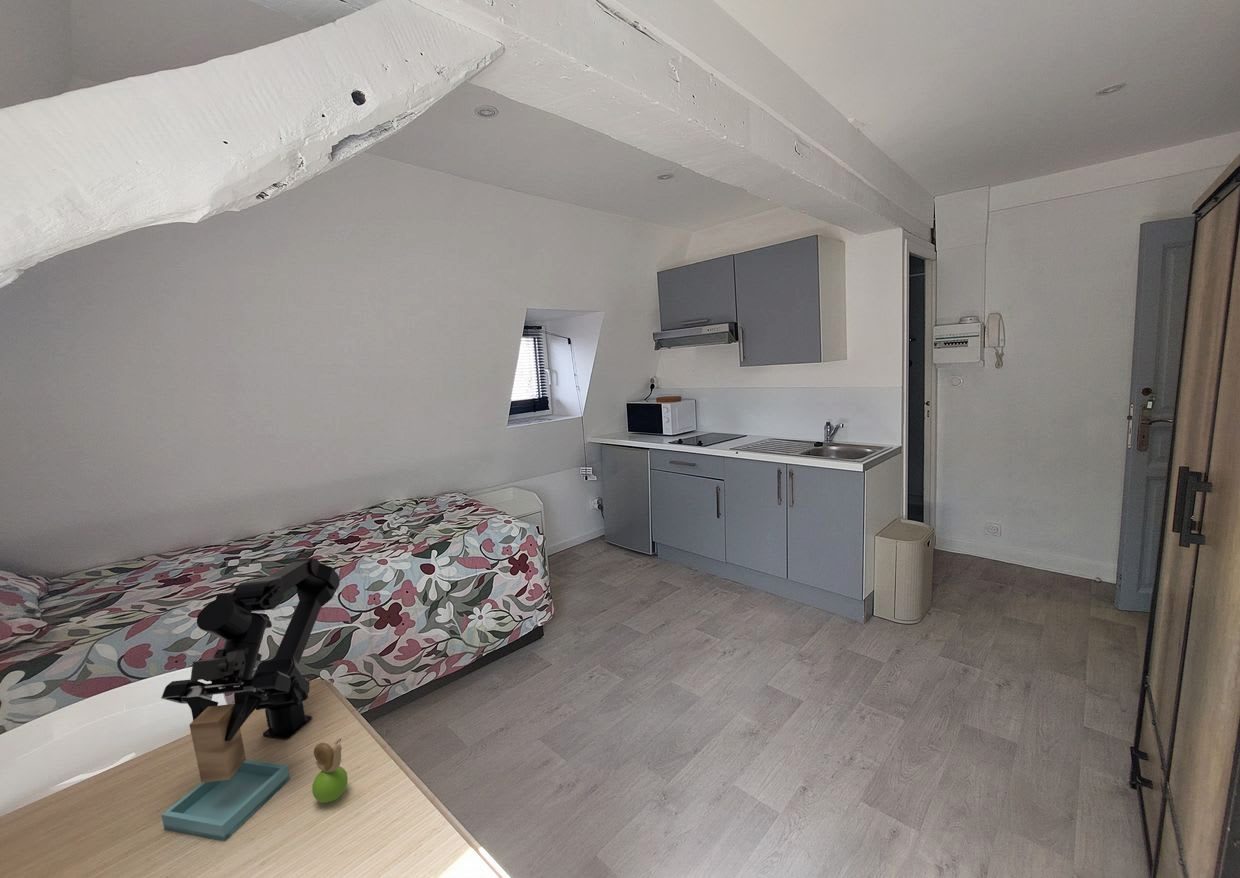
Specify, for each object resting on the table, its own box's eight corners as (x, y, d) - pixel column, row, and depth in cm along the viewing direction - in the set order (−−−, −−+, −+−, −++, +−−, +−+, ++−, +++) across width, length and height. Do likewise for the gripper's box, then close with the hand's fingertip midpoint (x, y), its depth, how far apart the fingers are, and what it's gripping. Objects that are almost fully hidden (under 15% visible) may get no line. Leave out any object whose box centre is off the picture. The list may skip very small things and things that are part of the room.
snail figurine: (335, 815, 87) (325, 751, 85) (307, 806, 89) (296, 744, 87) (361, 789, 92) (351, 729, 90) (333, 782, 94) (324, 722, 92)
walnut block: (219, 762, 92) (208, 706, 90) (246, 759, 92) (235, 703, 90) (201, 782, 87) (189, 724, 85) (229, 779, 88) (218, 721, 86)
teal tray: (290, 778, 95) (287, 765, 95) (224, 841, 83) (221, 826, 83) (235, 770, 98) (232, 757, 98) (164, 829, 86) (161, 814, 86)
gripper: (158, 640, 89) (116, 743, 80) (272, 629, 91) (243, 730, 82) (199, 656, 98) (165, 751, 89) (301, 646, 100) (279, 738, 91)
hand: (212, 742), depth 87 cm, fingers closed on walnut block, 4 cm apart
